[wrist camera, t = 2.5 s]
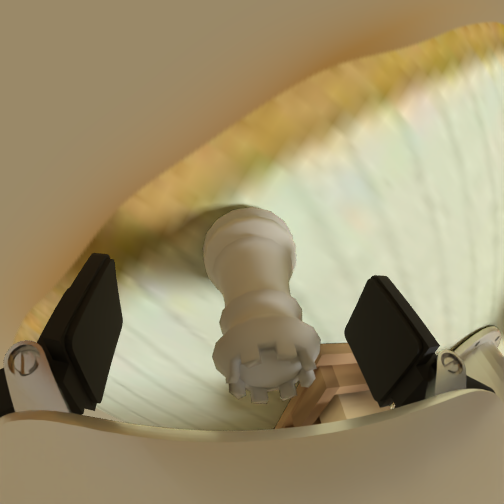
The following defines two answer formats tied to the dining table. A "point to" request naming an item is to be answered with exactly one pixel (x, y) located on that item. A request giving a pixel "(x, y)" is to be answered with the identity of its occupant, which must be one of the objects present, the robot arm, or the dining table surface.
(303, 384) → the rook chess piece
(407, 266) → the dining table surface
